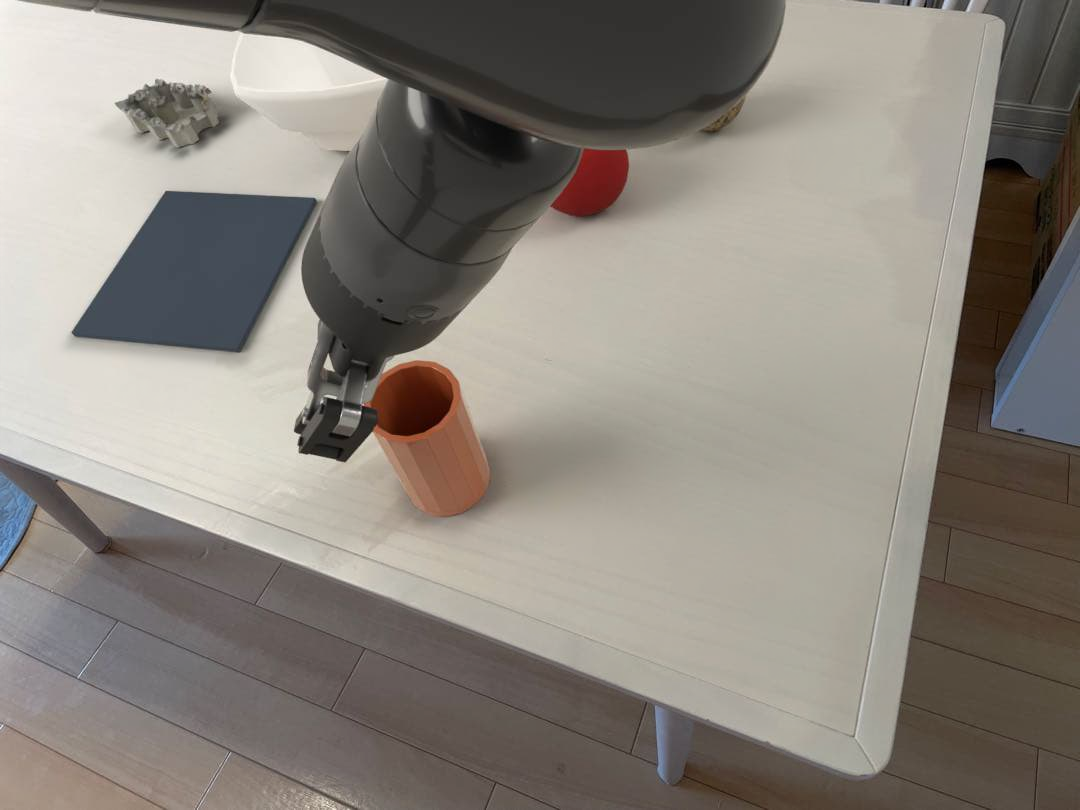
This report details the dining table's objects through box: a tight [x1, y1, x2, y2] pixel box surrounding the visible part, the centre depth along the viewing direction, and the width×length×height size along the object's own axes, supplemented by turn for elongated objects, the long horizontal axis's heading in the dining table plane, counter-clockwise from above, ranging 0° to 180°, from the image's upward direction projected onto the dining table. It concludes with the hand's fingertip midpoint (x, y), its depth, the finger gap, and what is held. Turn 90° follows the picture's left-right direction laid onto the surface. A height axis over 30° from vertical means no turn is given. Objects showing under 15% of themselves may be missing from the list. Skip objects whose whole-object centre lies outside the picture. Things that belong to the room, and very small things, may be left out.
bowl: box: [229, 32, 388, 152], centre depth 84 cm, size 22×22×12 cm
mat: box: [70, 190, 318, 353], centre depth 79 cm, size 20×18×1 cm
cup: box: [363, 359, 491, 517], centre depth 57 cm, size 7×7×11 cm
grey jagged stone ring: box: [114, 78, 220, 148], centre depth 93 cm, size 11×8×4 cm
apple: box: [550, 149, 630, 217], centre depth 74 cm, size 9×9×10 cm
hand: (325, 365), depth 48 cm, fingers open, 8 cm apart
